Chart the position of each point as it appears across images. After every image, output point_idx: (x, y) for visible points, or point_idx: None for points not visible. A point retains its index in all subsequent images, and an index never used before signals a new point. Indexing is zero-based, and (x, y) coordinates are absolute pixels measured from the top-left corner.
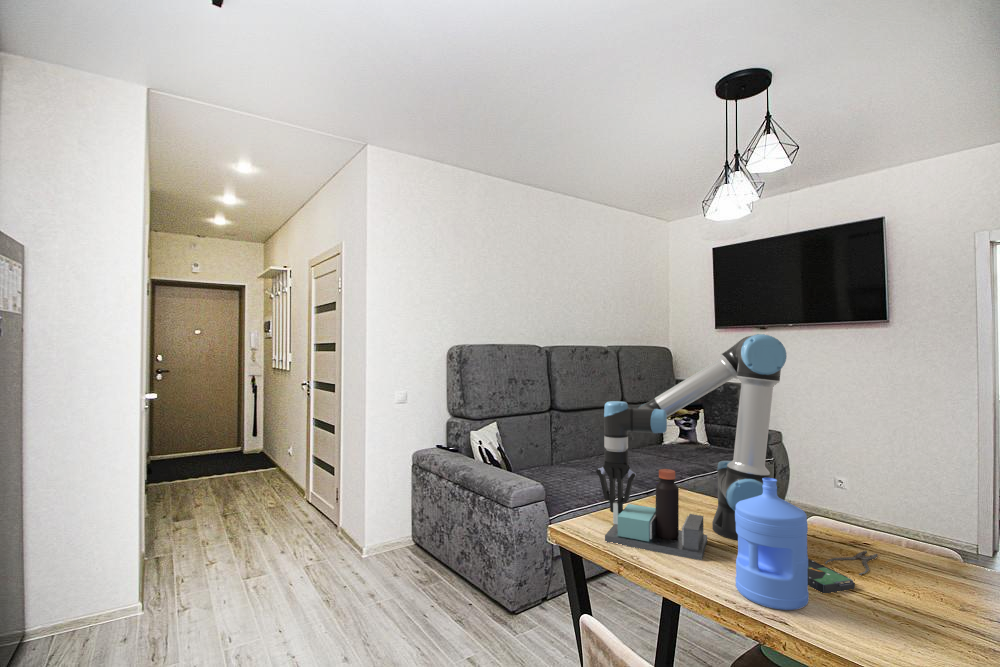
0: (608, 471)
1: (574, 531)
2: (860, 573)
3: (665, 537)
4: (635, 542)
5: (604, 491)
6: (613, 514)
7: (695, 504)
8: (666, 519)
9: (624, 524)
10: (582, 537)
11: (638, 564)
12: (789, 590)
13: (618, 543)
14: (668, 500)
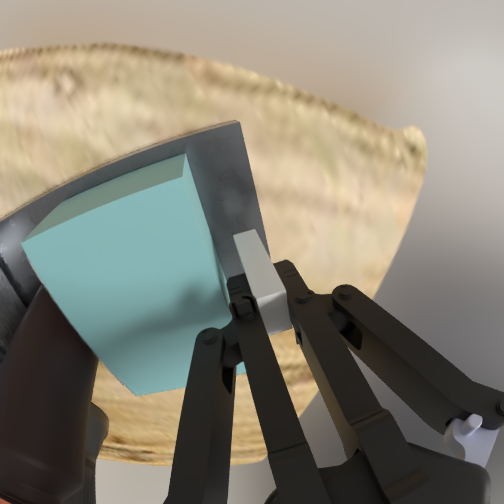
0: (431, 477)
1: (376, 145)
2: None
3: None
4: (101, 166)
5: (378, 318)
6: (264, 251)
7: None
8: (23, 323)
9: (143, 178)
10: (330, 106)
11: (37, 51)
12: None
13: (175, 137)
14: None
